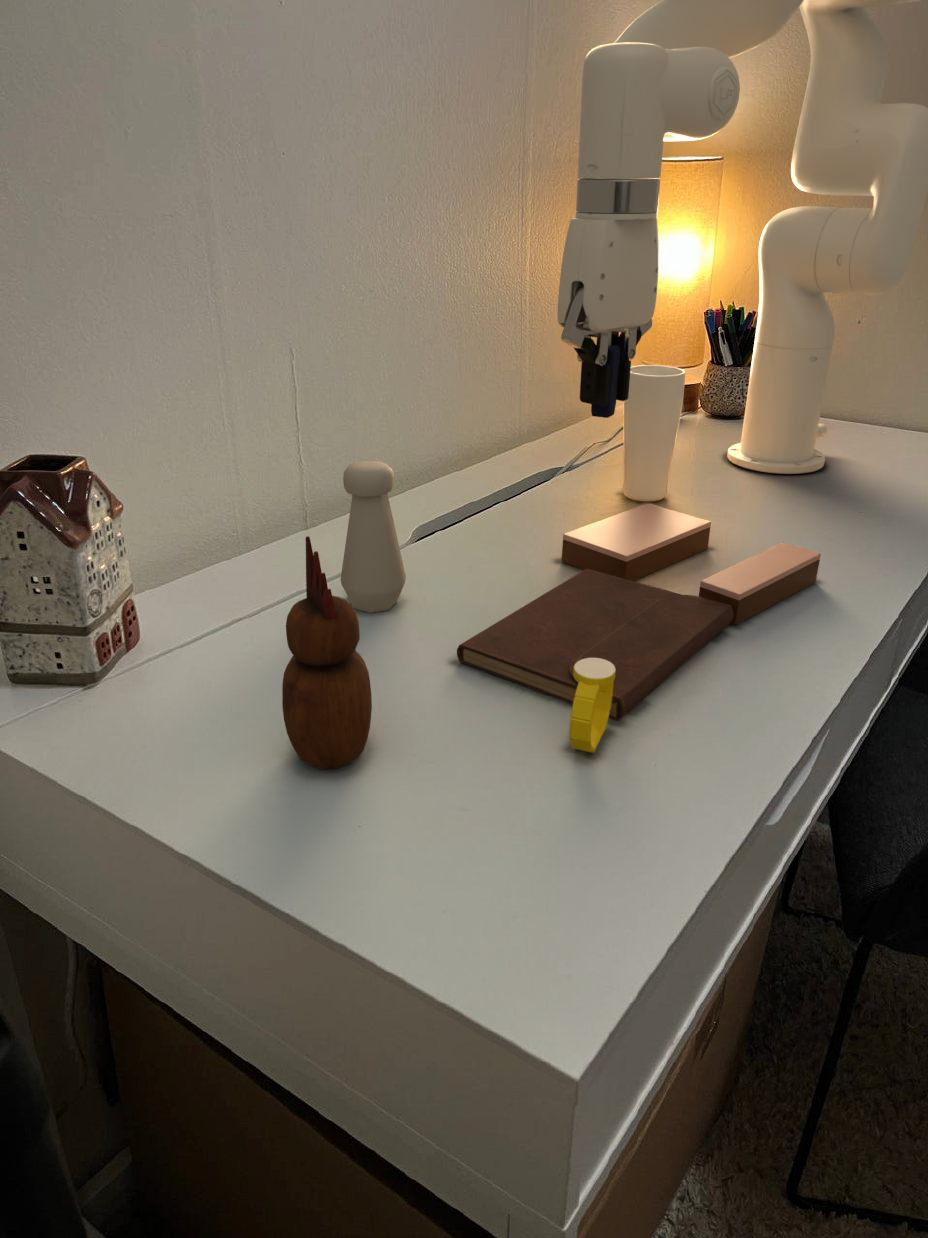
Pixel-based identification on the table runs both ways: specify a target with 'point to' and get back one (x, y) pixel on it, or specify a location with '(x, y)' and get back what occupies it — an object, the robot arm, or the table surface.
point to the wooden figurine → (325, 676)
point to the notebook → (598, 637)
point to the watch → (591, 702)
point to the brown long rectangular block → (762, 580)
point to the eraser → (610, 384)
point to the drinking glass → (651, 429)
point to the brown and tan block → (636, 542)
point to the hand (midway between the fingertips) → (603, 399)
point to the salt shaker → (371, 540)
